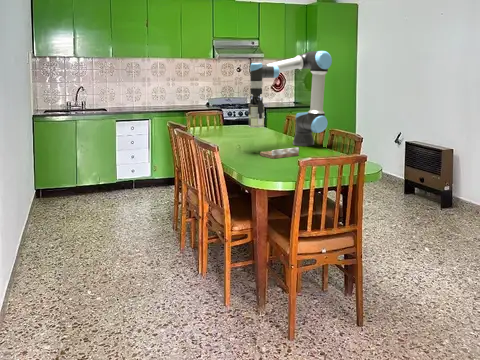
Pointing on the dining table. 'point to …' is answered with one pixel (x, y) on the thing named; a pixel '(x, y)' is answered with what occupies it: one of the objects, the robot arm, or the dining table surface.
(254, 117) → the coffee can
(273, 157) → the shelf board
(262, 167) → the dining table surface
